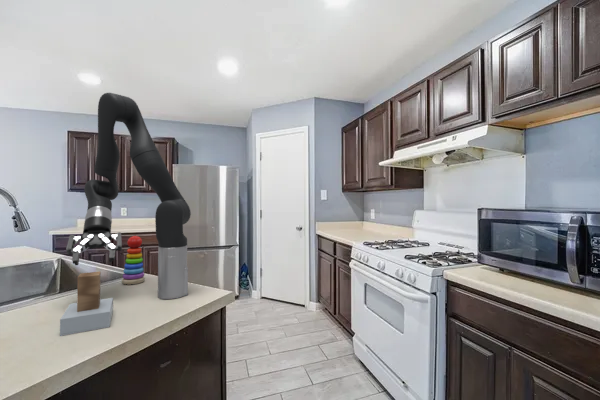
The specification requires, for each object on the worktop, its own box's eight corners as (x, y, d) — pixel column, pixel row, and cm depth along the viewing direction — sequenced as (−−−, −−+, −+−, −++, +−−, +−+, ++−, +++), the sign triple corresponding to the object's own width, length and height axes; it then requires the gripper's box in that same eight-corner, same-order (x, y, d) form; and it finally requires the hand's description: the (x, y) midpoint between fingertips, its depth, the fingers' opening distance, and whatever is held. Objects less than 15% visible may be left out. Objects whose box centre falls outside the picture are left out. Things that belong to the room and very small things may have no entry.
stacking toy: (119, 286, 107) (120, 237, 107) (123, 280, 115) (124, 235, 115) (143, 284, 110) (143, 236, 111) (145, 278, 118) (146, 234, 118)
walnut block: (100, 303, 79) (100, 271, 79) (98, 308, 75) (98, 275, 75) (79, 306, 76) (80, 273, 76) (77, 311, 73) (77, 277, 73)
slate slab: (112, 311, 83) (113, 297, 83) (109, 326, 73) (109, 311, 73) (70, 317, 78) (70, 303, 78) (59, 335, 68) (60, 319, 68)
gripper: (70, 215, 90) (61, 257, 80) (122, 214, 97) (120, 252, 87) (73, 230, 94) (66, 272, 84) (123, 228, 102) (121, 266, 92)
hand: (93, 262), depth 86 cm, fingers open, 8 cm apart
